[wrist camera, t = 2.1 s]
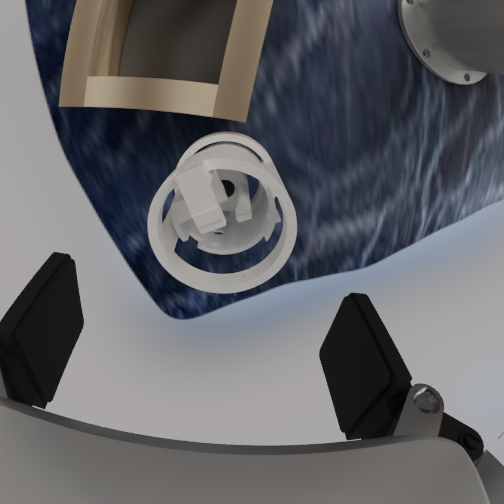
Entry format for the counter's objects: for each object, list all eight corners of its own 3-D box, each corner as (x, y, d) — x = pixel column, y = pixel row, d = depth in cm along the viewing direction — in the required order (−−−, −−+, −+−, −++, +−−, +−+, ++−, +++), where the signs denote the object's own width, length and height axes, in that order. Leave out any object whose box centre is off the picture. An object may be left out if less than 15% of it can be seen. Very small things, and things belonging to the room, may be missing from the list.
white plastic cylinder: (251, 111, 24) (272, 139, 11) (278, 184, 28) (318, 281, 15) (174, 141, 25) (113, 204, 12) (206, 210, 29) (184, 322, 16)
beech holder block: (273, -20, 18) (286, -52, 12) (242, 113, 24) (245, 122, 18) (126, -30, 16) (96, -58, 10) (98, 99, 22) (58, 106, 16)
